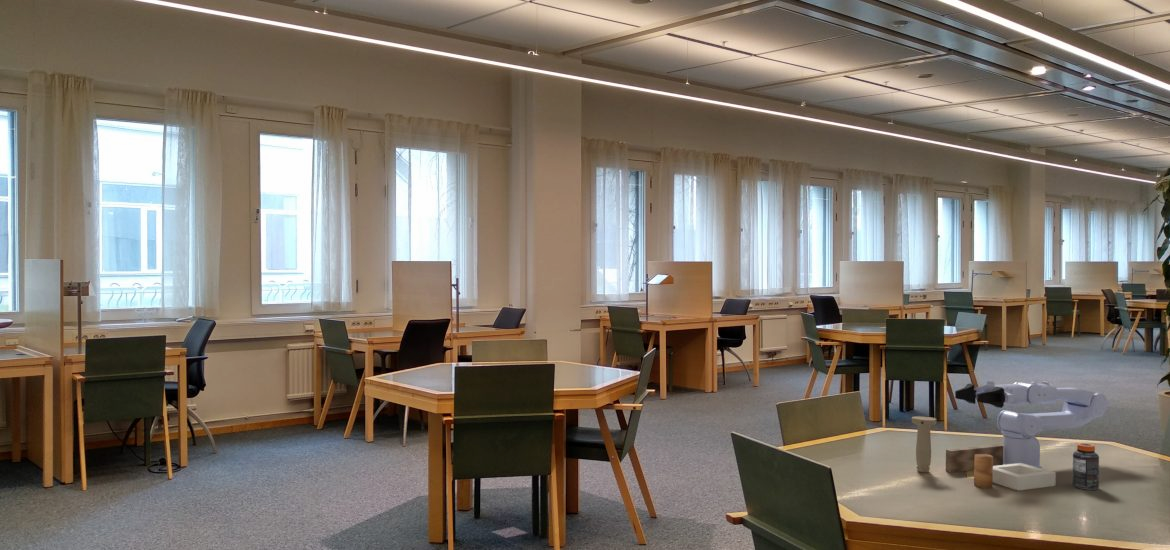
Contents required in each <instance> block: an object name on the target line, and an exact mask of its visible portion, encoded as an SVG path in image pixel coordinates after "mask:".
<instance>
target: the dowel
mask: <svg viewBox="0 0 1170 550" xmlns="http://www.w3.org/2000/svg"><path fill="white" fill-rule="evenodd" d="M973 472H974V473H973V486H974V487H976V488H982V489H992V488H993V486H994V485H993V456H991V455H988V454H975V459H974V470H973Z"/></svg>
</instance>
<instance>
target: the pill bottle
mask: <svg viewBox="0 0 1170 550" xmlns="http://www.w3.org/2000/svg"><path fill="white" fill-rule="evenodd" d="M1095 451H1096V444H1095V445H1094V444H1092V443H1086V442H1085V443H1084V442H1081V443H1077V445H1076V450H1075V451H1074V452H1073V453H1072V486H1073V487H1075V488H1077V489H1081V490H1091V491H1092V490H1097V489H1099V488H1100V487H1099V485H1100V484H1099V483H1100V482H1099V481H1100V479H1099V478H1100V476H1099V475H1100V456H1099V454H1098V453H1096V452H1095Z"/></svg>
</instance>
